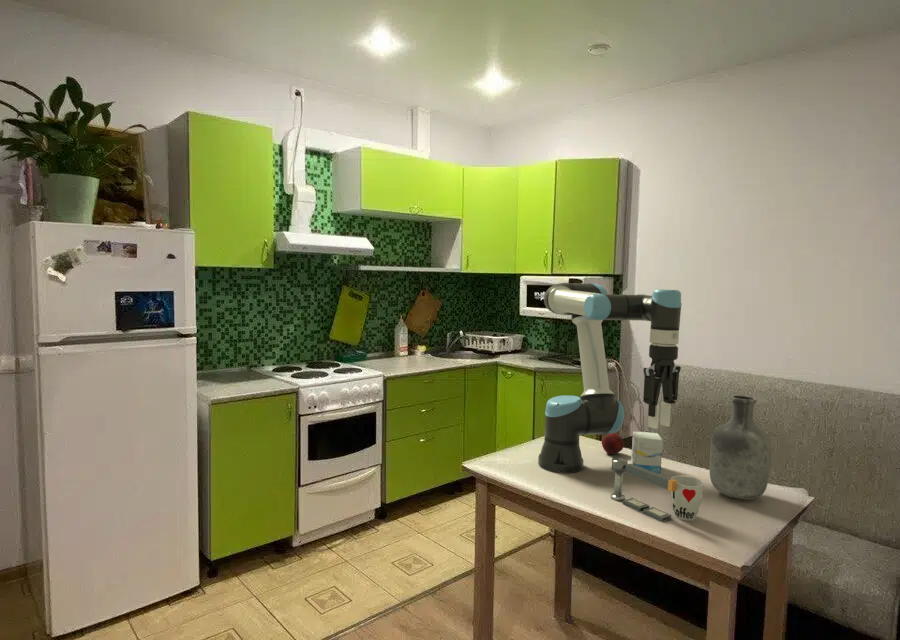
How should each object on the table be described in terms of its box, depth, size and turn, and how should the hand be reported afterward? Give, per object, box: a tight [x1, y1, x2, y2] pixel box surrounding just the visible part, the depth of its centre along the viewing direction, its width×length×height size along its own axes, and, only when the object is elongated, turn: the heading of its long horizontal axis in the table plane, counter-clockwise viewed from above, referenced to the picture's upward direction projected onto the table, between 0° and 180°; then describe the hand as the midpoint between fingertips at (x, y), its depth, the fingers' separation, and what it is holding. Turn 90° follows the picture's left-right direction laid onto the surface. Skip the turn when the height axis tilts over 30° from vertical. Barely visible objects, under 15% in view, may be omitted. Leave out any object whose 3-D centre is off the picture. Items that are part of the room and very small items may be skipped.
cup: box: [670, 475, 705, 522], centre depth 148 cm, size 8×8×10 cm
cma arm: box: [610, 457, 677, 493], centre depth 153 cm, size 20×4×3 cm, turn 32°
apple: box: [601, 432, 625, 456], centre depth 201 cm, size 7×8×8 cm
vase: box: [709, 394, 772, 500], centre depth 164 cm, size 16×16×30 cm
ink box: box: [630, 431, 664, 475], centre depth 186 cm, size 8×8×12 cm
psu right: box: [642, 506, 672, 522], centre depth 149 cm, size 6×4×1 cm, turn 32°
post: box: [610, 471, 626, 502], centre depth 160 cm, size 4×4×8 cm
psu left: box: [622, 497, 651, 513], centre depth 155 cm, size 6×4×1 cm, turn 32°
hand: (658, 426), depth 155 cm, fingers open, 4 cm apart
